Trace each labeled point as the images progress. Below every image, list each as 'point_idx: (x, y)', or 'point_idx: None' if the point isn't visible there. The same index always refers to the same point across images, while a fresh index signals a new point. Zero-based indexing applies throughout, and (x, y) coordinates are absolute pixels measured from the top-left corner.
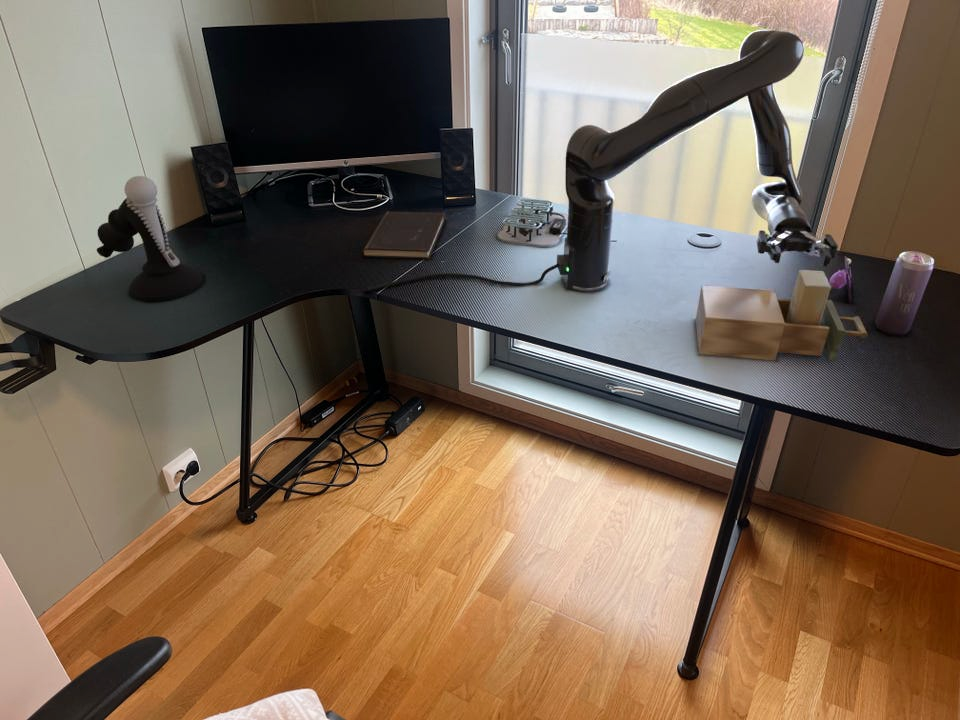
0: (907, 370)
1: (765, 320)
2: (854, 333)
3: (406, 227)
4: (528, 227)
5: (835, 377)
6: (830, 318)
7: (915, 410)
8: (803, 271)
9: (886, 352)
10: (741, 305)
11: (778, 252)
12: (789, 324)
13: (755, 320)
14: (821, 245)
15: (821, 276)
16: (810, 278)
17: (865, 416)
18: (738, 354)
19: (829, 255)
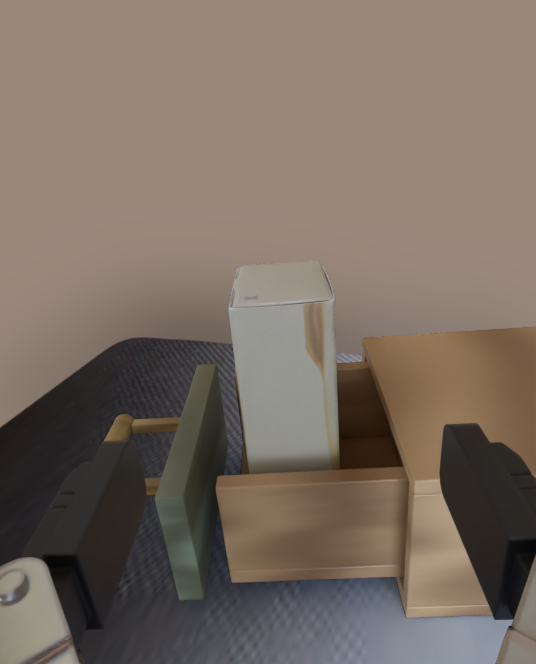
0: (39, 466)
1: (418, 338)
2: (150, 420)
3: None
4: None
5: (228, 418)
6: (205, 425)
7: (121, 376)
8: (317, 294)
9: (29, 528)
10: (515, 375)
11: (468, 427)
12: (346, 365)
13: (445, 333)
14: (44, 596)
15: (251, 286)
16: (297, 275)
17: (215, 355)
18: None
19: (74, 484)
